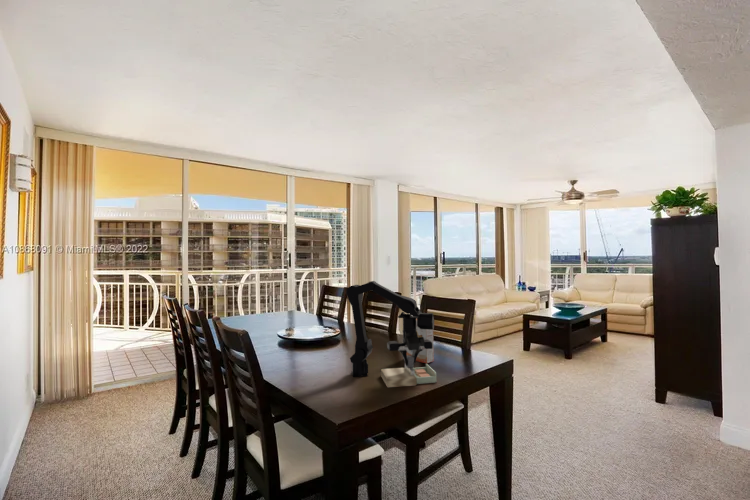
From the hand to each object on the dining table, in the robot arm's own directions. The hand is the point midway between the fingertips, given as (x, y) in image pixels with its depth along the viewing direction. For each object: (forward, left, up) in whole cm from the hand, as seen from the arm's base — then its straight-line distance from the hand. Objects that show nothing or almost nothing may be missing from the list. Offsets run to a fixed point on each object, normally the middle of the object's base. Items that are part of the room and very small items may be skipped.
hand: (409, 365), depth 160 cm
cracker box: (+12, +26, -6) cm, 29 cm away
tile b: (+6, +3, -4) cm, 7 cm away
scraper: (0, 0, -3) cm, 3 cm away
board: (-5, -1, -6) cm, 8 cm away
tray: (+5, 0, -6) cm, 8 cm away
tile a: (+6, -3, -4) cm, 7 cm away
